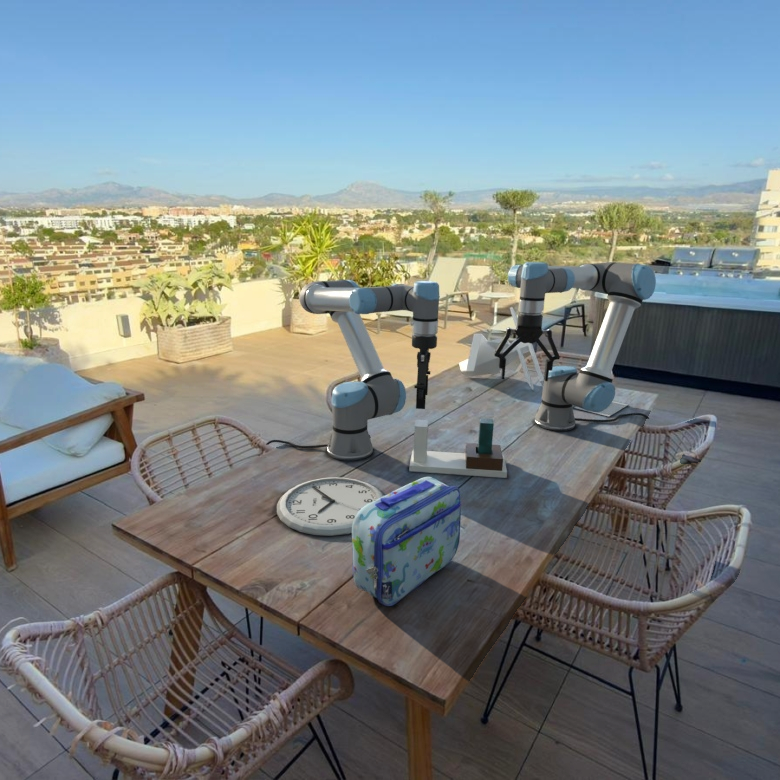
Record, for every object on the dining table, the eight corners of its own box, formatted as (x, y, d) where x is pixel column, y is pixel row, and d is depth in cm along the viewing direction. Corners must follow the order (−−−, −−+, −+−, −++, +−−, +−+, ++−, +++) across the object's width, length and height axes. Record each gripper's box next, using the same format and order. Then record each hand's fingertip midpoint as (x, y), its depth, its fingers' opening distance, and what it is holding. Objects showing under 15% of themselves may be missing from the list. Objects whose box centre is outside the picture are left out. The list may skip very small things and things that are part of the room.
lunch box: (381, 619, 101) (382, 525, 95) (345, 592, 109) (344, 503, 102) (464, 563, 119) (469, 480, 113) (428, 543, 126) (432, 464, 120)
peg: (489, 460, 168) (492, 419, 164) (490, 465, 164) (493, 423, 160) (476, 459, 168) (479, 418, 164) (477, 464, 164) (480, 422, 160)
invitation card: (608, 416, 214) (573, 407, 224) (608, 416, 214) (573, 408, 224) (628, 404, 229) (594, 396, 238) (628, 405, 229) (594, 397, 238)
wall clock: (392, 527, 129) (268, 531, 127) (391, 533, 130) (269, 537, 127) (383, 473, 158) (282, 475, 155) (383, 478, 158) (282, 480, 156)
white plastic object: (480, 418, 266) (459, 395, 242) (461, 346, 288) (441, 318, 264) (550, 394, 254) (536, 368, 229) (526, 321, 276) (510, 289, 251)
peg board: (503, 461, 172) (506, 421, 167) (506, 478, 160) (510, 435, 156) (412, 455, 175) (413, 416, 171) (409, 471, 164) (410, 429, 159)
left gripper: (415, 325, 168) (412, 388, 175) (408, 342, 145) (406, 414, 151) (438, 326, 168) (435, 389, 174) (435, 343, 144) (432, 415, 151)
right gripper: (569, 313, 165) (561, 377, 171) (489, 310, 167) (484, 374, 174) (574, 316, 158) (566, 384, 164) (490, 313, 160) (485, 380, 167)
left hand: (421, 401), depth 163 cm, fingers open, 13 cm apart
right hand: (524, 379), depth 169 cm, fingers open, 13 cm apart
